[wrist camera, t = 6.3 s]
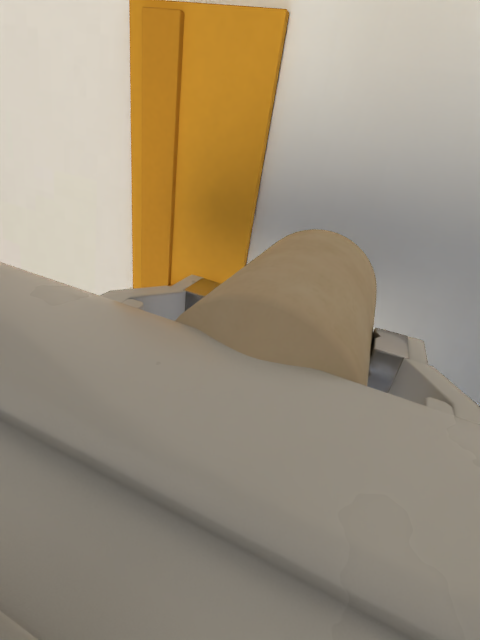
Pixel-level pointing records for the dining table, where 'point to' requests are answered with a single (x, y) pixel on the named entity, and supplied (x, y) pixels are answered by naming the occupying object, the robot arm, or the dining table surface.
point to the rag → (198, 133)
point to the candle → (297, 306)
